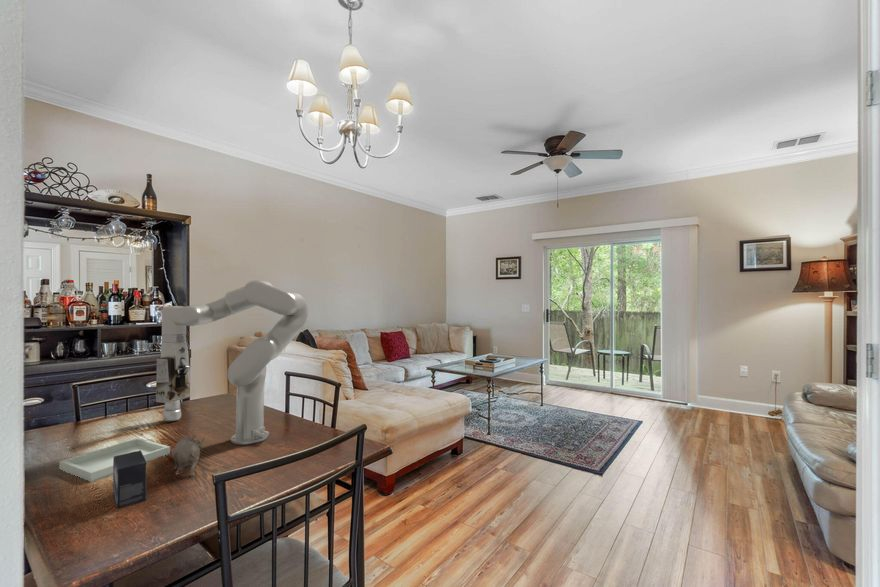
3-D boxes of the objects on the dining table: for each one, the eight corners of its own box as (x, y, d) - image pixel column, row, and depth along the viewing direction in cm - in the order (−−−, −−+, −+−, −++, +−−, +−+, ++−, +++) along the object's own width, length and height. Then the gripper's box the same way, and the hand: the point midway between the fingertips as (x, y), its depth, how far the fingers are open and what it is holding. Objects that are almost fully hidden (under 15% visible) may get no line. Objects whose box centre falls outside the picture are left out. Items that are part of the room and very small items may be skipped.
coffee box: (170, 403, 141) (170, 358, 141) (155, 402, 142) (155, 358, 142) (191, 397, 149) (191, 354, 150) (176, 396, 151) (177, 354, 151)
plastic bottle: (165, 419, 170) (166, 373, 170) (183, 417, 172) (184, 372, 172) (160, 423, 164) (160, 376, 164) (178, 422, 166) (179, 375, 166)
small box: (111, 493, 107) (112, 455, 107) (141, 486, 112) (141, 449, 112) (115, 509, 99) (116, 468, 100) (147, 500, 104) (147, 461, 104)
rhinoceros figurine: (164, 476, 112) (175, 424, 120) (168, 487, 122) (177, 438, 130) (195, 474, 115) (204, 423, 124) (197, 484, 125) (204, 437, 133)
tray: (169, 454, 133) (169, 446, 133) (90, 482, 113) (91, 473, 113) (138, 445, 141) (138, 437, 141) (59, 469, 121) (59, 461, 121)
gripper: (199, 339, 146) (198, 386, 146) (169, 336, 153) (169, 382, 153) (178, 341, 139) (178, 391, 139) (149, 338, 146) (148, 386, 146)
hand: (173, 386), depth 146 cm, fingers closed on coffee box, 7 cm apart
